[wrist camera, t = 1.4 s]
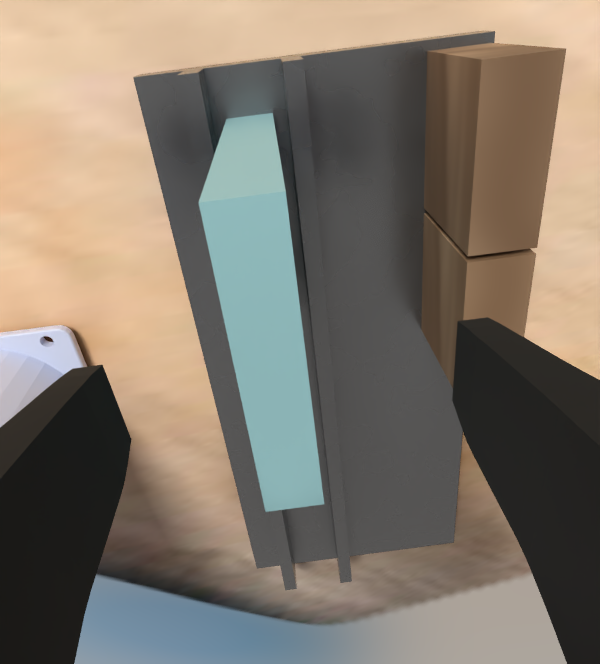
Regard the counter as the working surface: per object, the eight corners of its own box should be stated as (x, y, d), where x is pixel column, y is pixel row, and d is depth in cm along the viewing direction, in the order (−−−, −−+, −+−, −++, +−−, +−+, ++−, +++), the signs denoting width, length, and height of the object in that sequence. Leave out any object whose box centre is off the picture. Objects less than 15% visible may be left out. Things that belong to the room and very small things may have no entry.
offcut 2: (421, 329, 21) (457, 397, 17) (423, 213, 18) (467, 262, 15) (468, 323, 21) (516, 390, 17) (478, 206, 18) (536, 253, 15)
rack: (257, 552, 29) (256, 593, 27) (139, 74, 16) (122, 82, 14) (447, 527, 29) (462, 566, 27) (482, 30, 16) (516, 32, 14)
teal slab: (262, 329, 20) (265, 512, 13) (226, 118, 16) (198, 202, 9) (299, 324, 20) (324, 504, 13) (272, 113, 16) (285, 191, 9)
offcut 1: (423, 207, 18) (468, 256, 14) (427, 50, 16) (482, 59, 12) (478, 200, 18) (537, 247, 14) (491, 42, 16) (566, 48, 12)
